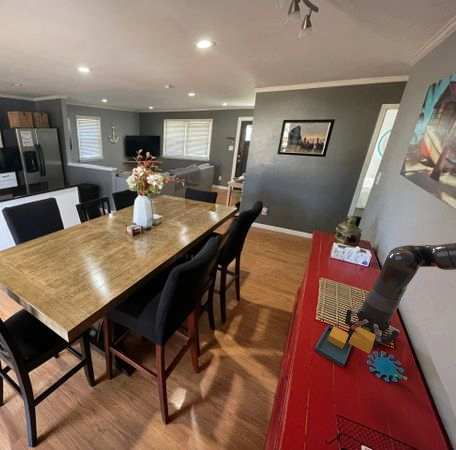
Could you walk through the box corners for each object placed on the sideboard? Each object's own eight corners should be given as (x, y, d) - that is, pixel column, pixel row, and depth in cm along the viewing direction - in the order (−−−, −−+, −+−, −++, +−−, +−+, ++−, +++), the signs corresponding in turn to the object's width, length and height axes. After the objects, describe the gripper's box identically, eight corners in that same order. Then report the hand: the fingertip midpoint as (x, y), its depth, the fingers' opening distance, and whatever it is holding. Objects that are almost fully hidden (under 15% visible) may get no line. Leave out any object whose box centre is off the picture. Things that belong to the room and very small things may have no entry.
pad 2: (372, 341, 85) (375, 334, 84) (368, 353, 80) (372, 347, 79) (353, 331, 89) (356, 325, 87) (348, 343, 84) (351, 336, 83)
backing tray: (353, 341, 103) (355, 338, 103) (342, 368, 92) (344, 364, 91) (326, 328, 110) (327, 324, 110) (313, 350, 99) (314, 347, 98)
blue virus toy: (361, 365, 91) (376, 344, 92) (359, 365, 96) (373, 346, 96) (398, 391, 84) (414, 369, 84) (394, 391, 88) (409, 369, 89)
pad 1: (346, 339, 104) (349, 333, 103) (342, 349, 99) (345, 343, 98) (331, 331, 108) (334, 326, 107) (326, 340, 103) (329, 335, 102)
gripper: (351, 297, 80) (334, 334, 87) (410, 322, 70) (386, 361, 77) (355, 288, 85) (339, 323, 91) (411, 310, 75) (389, 348, 82)
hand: (361, 341), depth 84 cm, fingers closed on pad 2, 5 cm apart
